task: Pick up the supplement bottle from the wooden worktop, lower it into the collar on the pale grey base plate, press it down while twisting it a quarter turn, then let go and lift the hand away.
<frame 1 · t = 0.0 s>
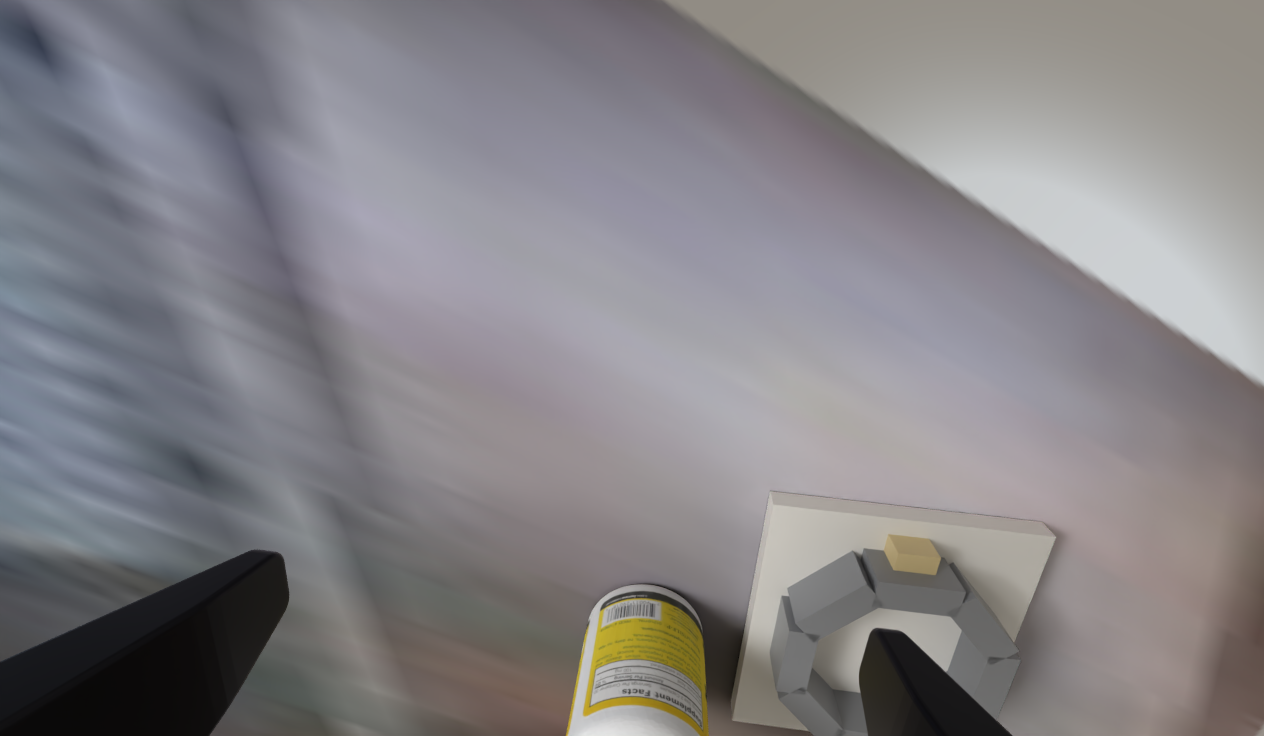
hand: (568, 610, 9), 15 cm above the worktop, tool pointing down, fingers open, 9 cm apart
socket base: (872, 620, 26), on the worktop
supplement bottle: (646, 623, 28), on the worktop
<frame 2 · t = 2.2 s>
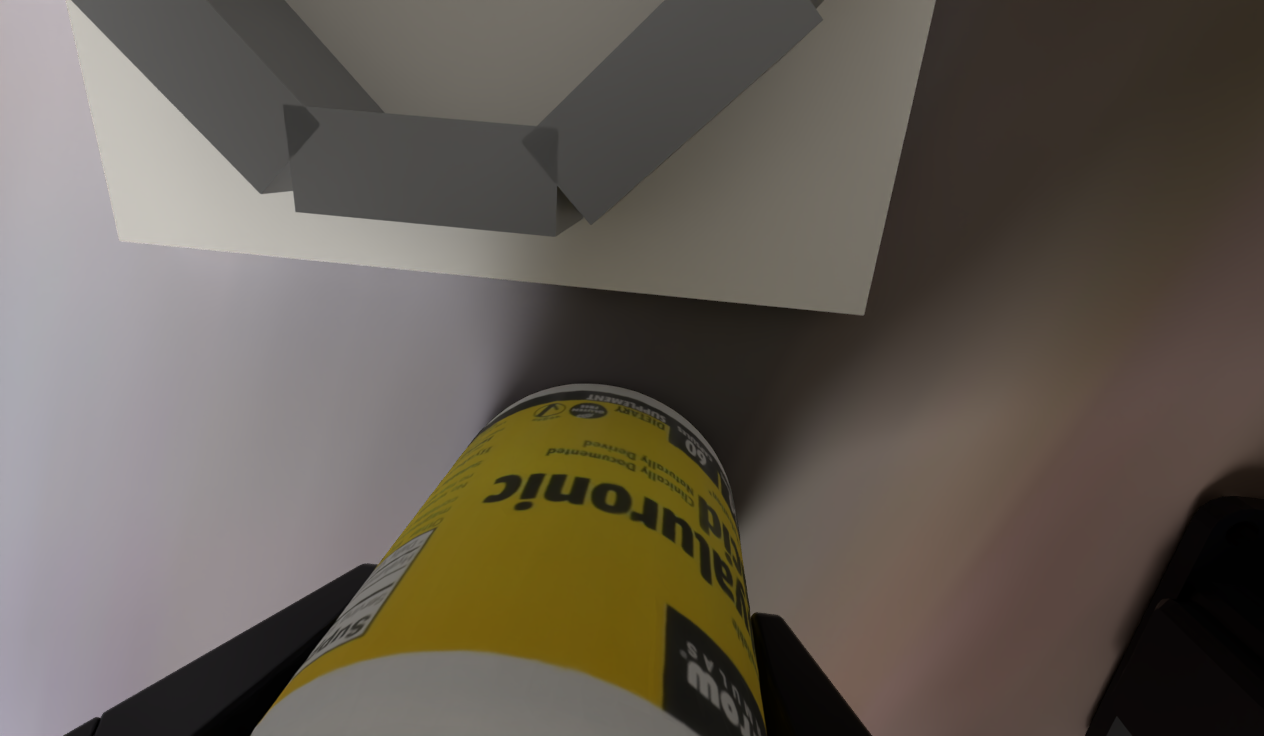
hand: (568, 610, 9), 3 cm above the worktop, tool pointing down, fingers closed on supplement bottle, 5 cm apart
supplement bottle: (598, 493, 12), on the worktop, touching gripper
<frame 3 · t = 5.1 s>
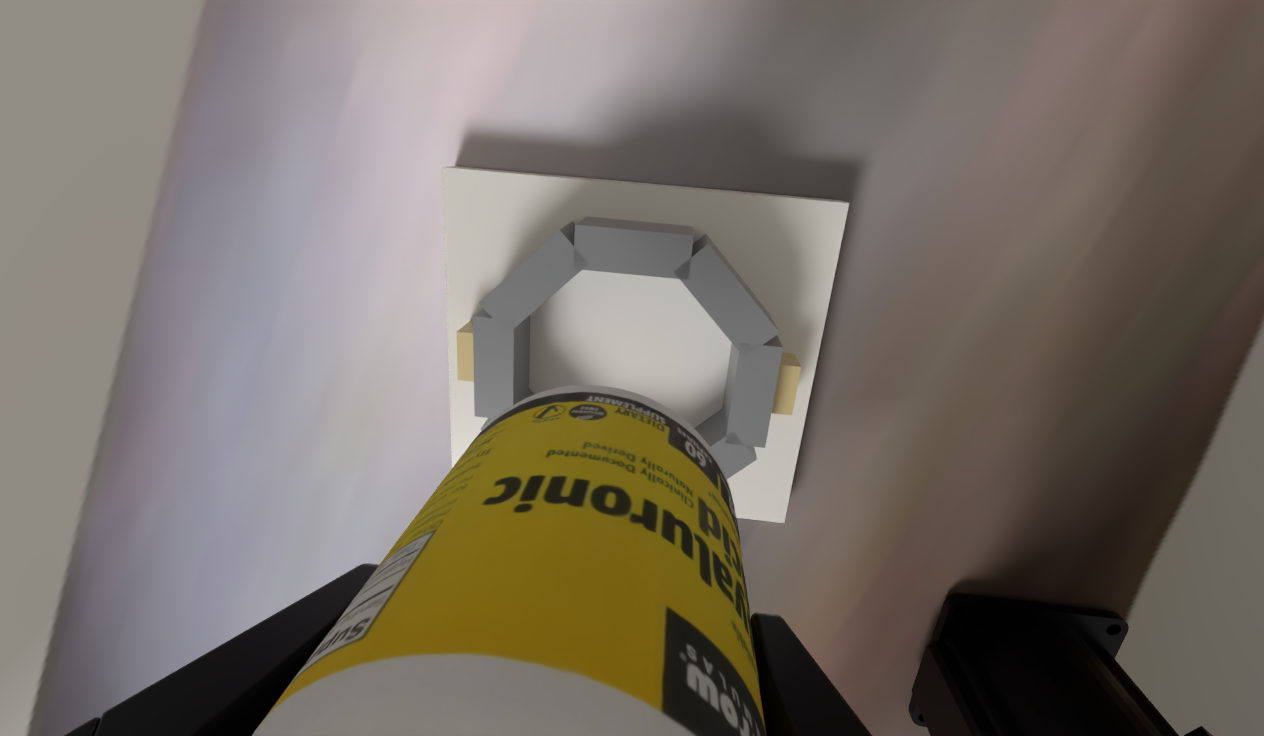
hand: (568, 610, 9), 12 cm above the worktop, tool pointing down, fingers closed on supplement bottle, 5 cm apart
socket base: (630, 350, 20), on the worktop
supplement bottle: (597, 495, 12), point 9 cm above the worktop, touching gripper
when the fingers open (4 cm above the worktop, at t = 8.1 s): supplement bottle stays where it is, resting on socket base.
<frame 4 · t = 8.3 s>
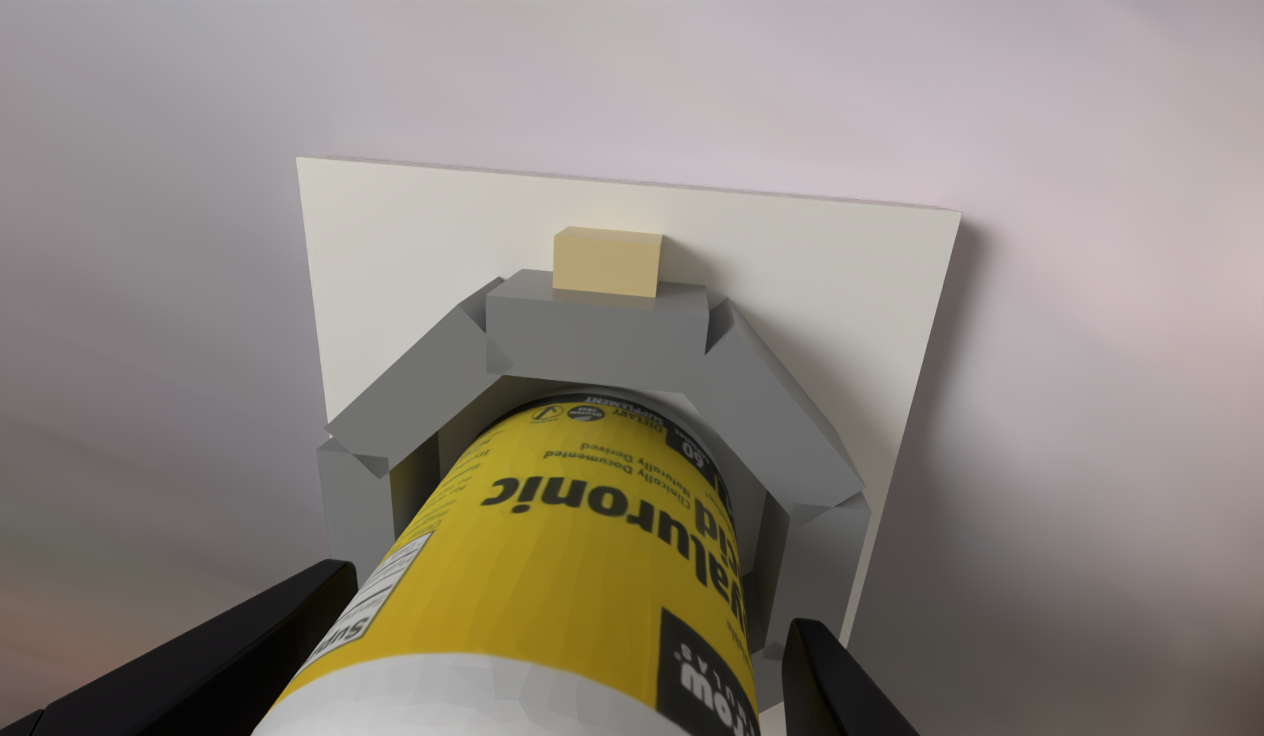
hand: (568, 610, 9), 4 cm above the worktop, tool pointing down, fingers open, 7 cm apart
socket base: (605, 471, 13), on the worktop
supplement bottle: (596, 495, 12), point 1 cm above the worktop, touching socket base
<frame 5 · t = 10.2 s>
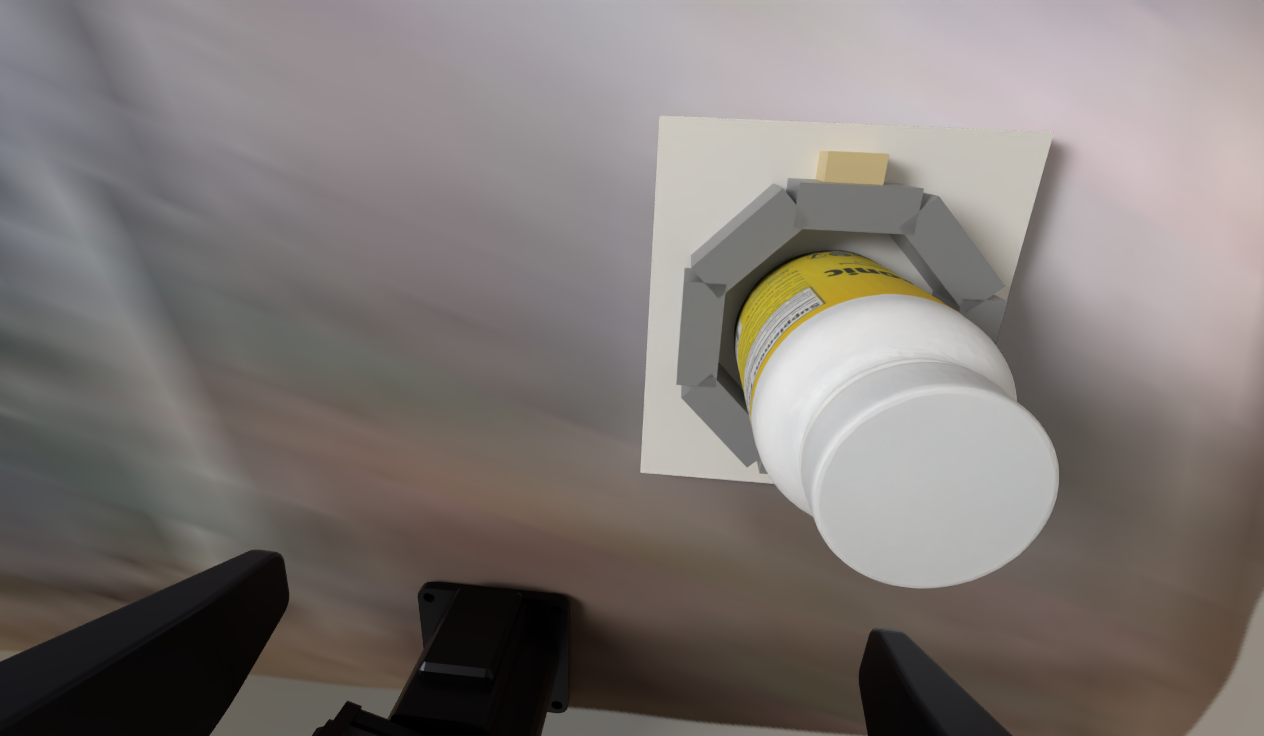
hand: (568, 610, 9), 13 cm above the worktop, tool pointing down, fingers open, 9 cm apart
socket base: (813, 316, 20), on the worktop
supplement bottle: (815, 326, 19), point 1 cm above the worktop, touching socket base
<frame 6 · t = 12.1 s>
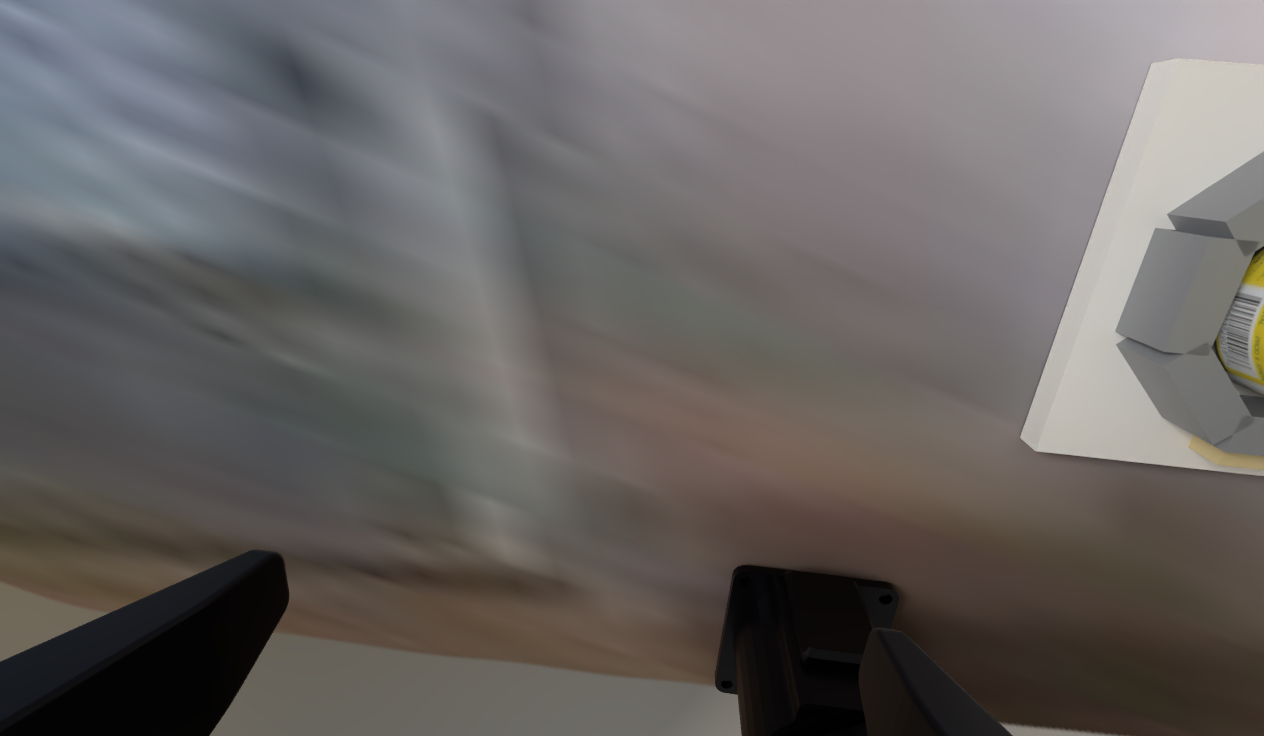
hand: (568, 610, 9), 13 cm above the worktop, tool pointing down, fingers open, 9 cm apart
socket base: (1257, 288, 19), on the worktop
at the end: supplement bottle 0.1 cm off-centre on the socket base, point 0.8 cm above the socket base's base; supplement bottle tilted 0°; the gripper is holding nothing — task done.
